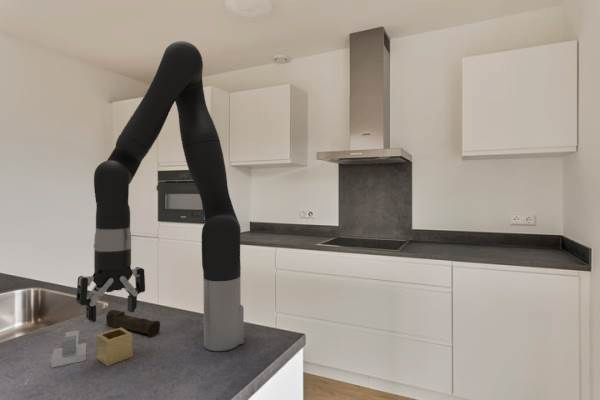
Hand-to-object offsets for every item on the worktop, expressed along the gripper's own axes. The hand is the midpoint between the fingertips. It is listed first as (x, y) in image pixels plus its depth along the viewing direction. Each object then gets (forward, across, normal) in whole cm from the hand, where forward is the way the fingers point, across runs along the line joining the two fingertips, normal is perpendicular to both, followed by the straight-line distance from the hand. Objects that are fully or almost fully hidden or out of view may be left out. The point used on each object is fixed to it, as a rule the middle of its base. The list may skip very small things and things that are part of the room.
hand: (112, 316), depth 80 cm
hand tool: (+10, +10, +13) cm, 19 cm away
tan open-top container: (+10, 0, 0) cm, 10 cm away
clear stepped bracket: (+10, -5, +12) cm, 17 cm away
